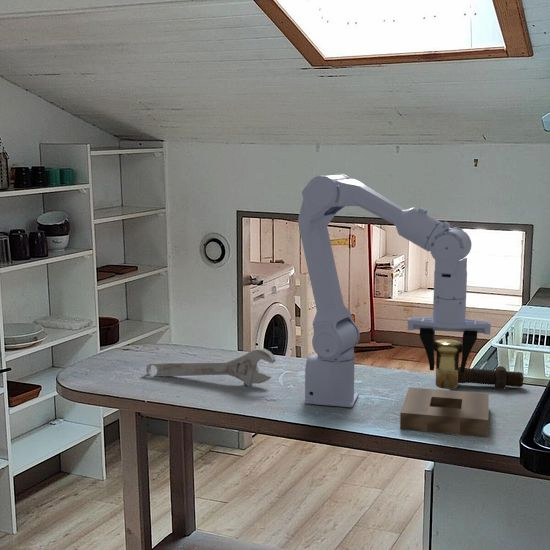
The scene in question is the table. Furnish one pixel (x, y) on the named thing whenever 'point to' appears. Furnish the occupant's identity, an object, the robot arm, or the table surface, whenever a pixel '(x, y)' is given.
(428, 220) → the robot arm
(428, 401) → the socket plate
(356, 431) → the table surface
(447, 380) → the brass pin
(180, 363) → the wrench
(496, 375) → the bolt
